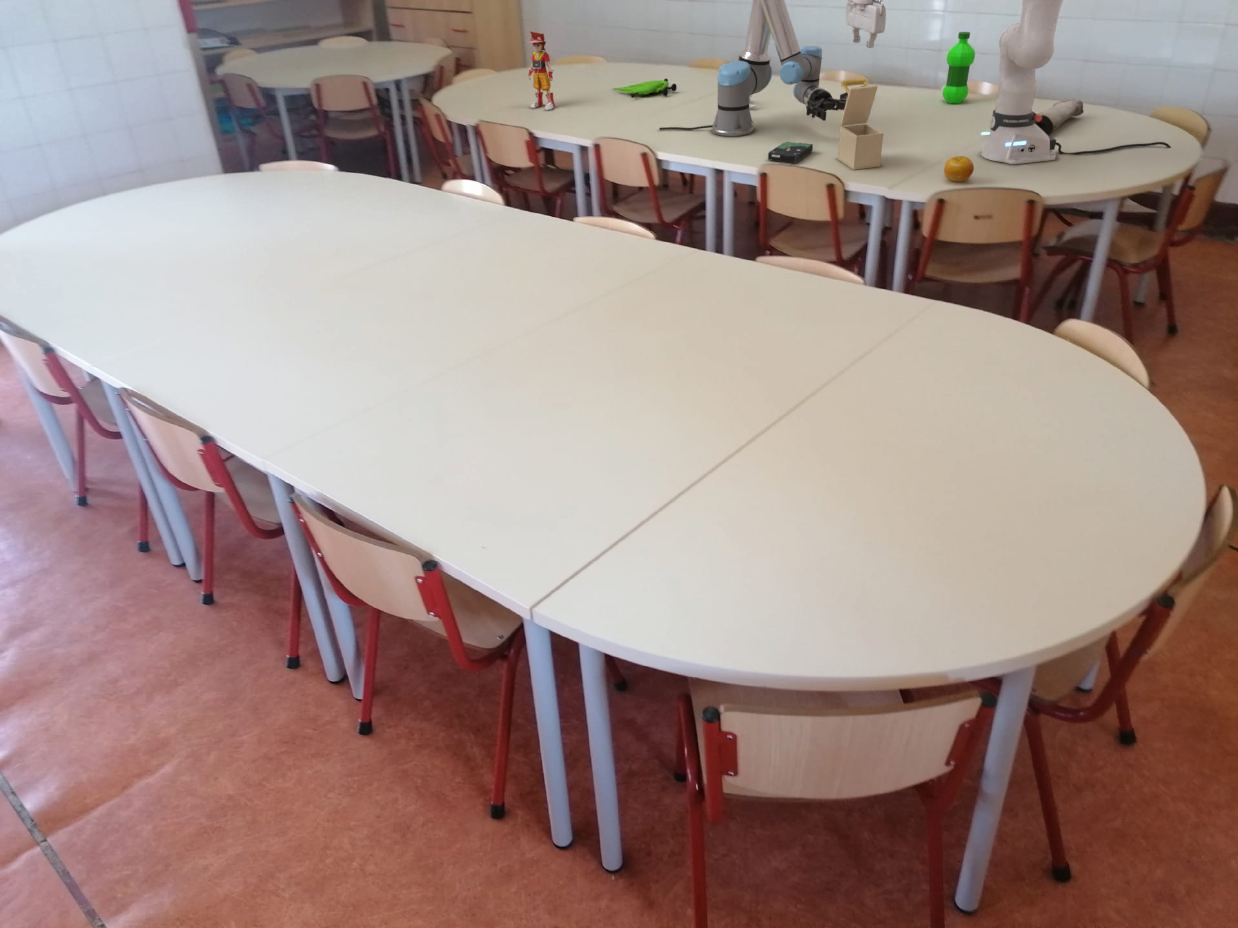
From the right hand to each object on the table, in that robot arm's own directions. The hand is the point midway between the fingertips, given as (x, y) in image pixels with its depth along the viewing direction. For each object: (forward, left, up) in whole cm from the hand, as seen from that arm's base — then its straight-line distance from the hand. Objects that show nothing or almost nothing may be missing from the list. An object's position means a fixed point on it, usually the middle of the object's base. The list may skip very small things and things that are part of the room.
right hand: (863, 45), depth 281 cm
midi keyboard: (-13, -74, -35) cm, 83 cm away
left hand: (+2, -10, -23) cm, 26 cm away
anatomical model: (+31, -78, -35) cm, 91 cm away
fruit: (-27, +27, -35) cm, 52 cm away
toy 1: (+114, -93, -35) cm, 151 cm away
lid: (0, +1, -18) cm, 18 cm away
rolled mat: (-76, -29, -35) cm, 89 cm away
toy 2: (+72, -112, -35) cm, 138 cm away
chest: (-1, +4, -35) cm, 36 cm away
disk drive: (+20, -6, -35) cm, 41 cm away
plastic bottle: (-53, -69, -35) cm, 94 cm away
